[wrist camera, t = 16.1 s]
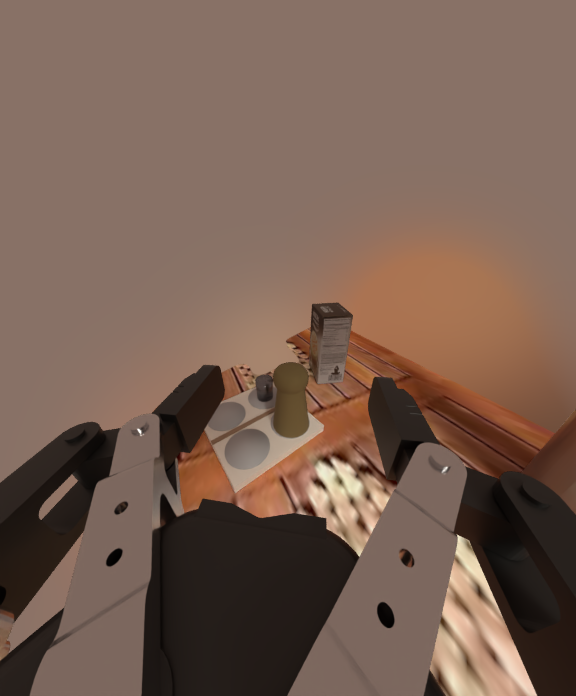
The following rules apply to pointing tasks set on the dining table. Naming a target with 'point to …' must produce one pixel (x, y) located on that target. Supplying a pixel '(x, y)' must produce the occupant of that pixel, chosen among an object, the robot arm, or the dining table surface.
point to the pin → (264, 388)
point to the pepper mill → (290, 400)
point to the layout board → (251, 437)
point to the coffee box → (329, 341)
